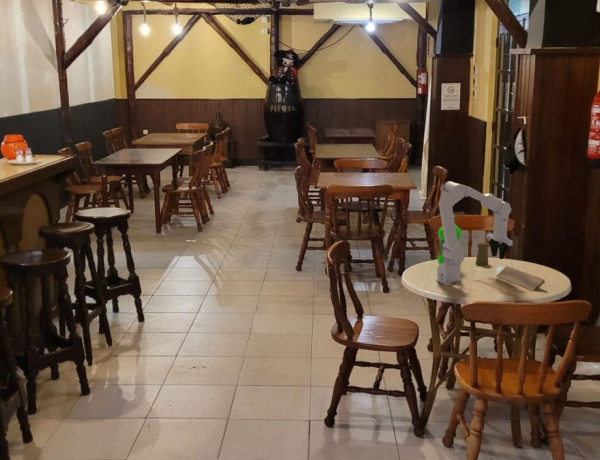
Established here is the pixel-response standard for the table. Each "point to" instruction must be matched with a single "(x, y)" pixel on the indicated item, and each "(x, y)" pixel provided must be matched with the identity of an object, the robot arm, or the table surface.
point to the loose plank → (521, 278)
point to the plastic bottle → (441, 236)
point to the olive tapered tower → (482, 254)
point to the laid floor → (498, 287)
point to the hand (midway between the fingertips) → (498, 257)
